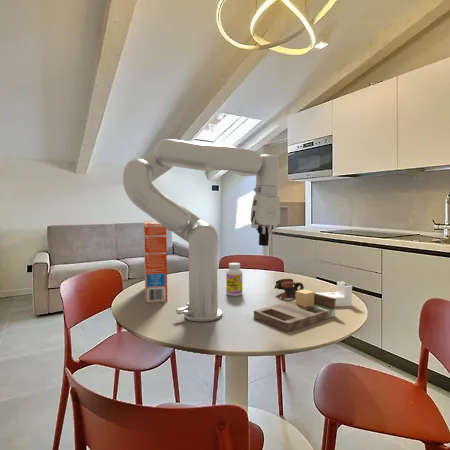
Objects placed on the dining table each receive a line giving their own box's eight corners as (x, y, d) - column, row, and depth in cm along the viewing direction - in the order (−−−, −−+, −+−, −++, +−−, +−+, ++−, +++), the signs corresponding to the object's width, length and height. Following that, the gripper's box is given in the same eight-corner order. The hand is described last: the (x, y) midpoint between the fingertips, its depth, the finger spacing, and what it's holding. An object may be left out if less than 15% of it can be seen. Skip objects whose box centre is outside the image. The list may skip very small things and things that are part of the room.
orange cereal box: (167, 301, 133) (166, 224, 131) (146, 303, 132) (144, 224, 129) (163, 287, 156) (162, 220, 154) (145, 288, 154) (143, 221, 152)
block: (305, 306, 117) (305, 293, 117) (295, 303, 121) (295, 291, 121) (314, 304, 120) (314, 291, 120) (304, 301, 124) (304, 289, 123)
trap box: (287, 331, 102) (287, 311, 101) (253, 318, 114) (253, 300, 114) (335, 316, 116) (335, 298, 115) (300, 305, 128) (300, 289, 127)
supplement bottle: (223, 295, 142) (223, 264, 141) (230, 291, 148) (230, 261, 147) (238, 297, 139) (238, 265, 138) (244, 293, 145) (244, 262, 144)
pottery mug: (273, 300, 136) (270, 280, 140) (279, 304, 144) (276, 285, 148) (304, 294, 133) (300, 274, 136) (308, 299, 140) (304, 280, 144)
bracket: (343, 300, 134) (343, 281, 133) (351, 306, 127) (351, 286, 126) (310, 302, 133) (310, 282, 132) (317, 307, 126) (317, 287, 125)
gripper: (256, 190, 110) (253, 247, 111) (290, 193, 119) (286, 246, 120) (242, 190, 116) (239, 244, 118) (275, 193, 125) (272, 243, 126)
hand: (263, 245), depth 119 cm, fingers closed
